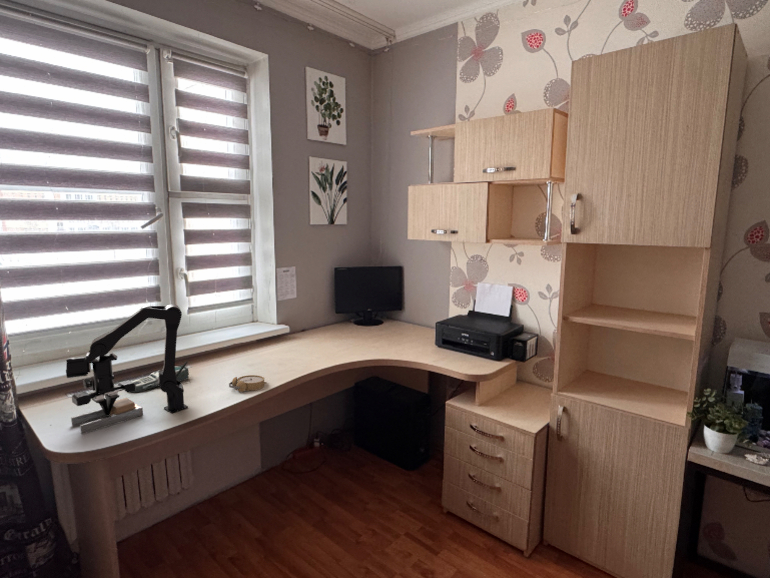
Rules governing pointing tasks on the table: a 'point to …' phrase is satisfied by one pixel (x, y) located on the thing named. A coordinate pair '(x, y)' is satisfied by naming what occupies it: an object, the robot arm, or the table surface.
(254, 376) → the alarm clock
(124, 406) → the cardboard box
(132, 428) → the table surface
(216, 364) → the table surface
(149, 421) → the table surface
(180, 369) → the communication device
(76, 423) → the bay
